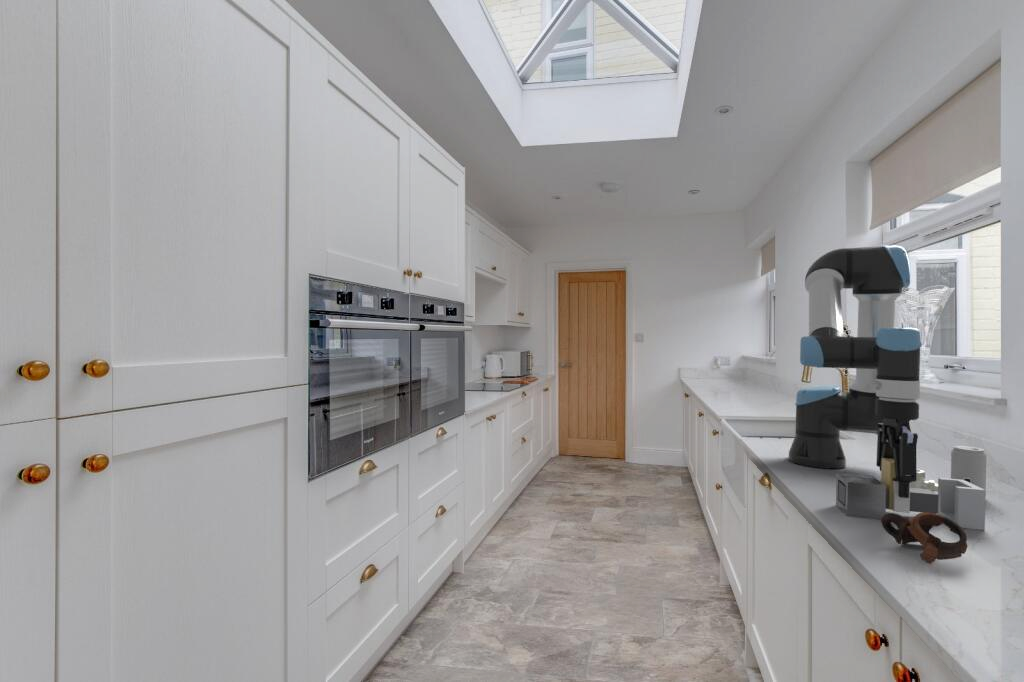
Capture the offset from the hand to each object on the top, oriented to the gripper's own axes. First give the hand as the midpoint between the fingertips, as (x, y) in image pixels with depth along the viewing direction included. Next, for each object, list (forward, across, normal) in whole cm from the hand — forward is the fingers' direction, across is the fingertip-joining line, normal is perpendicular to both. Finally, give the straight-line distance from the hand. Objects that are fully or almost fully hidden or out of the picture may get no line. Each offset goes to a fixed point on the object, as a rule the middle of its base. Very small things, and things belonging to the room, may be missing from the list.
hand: (894, 506), depth 110 cm
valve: (+2, -15, +14) cm, 21 cm away
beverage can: (+2, -22, +24) cm, 32 cm away
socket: (+2, 0, +12) cm, 12 cm away
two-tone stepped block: (0, 0, -1) cm, 1 cm away
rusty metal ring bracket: (+2, +21, -4) cm, 22 cm away
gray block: (+2, 0, -6) cm, 7 cm away
